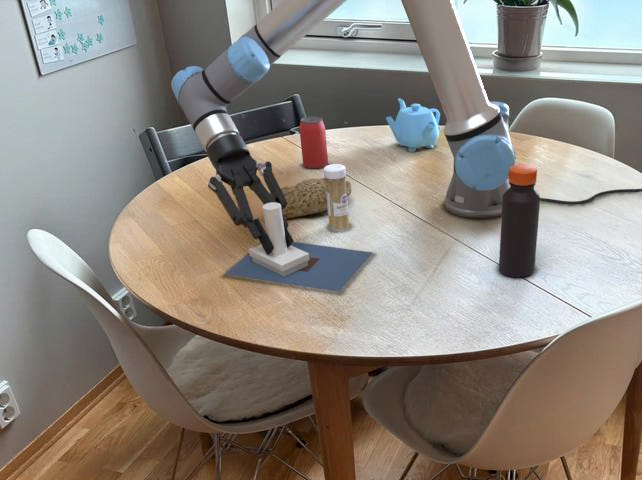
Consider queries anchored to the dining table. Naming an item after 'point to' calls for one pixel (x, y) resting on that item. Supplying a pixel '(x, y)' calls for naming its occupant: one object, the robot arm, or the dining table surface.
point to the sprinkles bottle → (336, 196)
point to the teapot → (415, 126)
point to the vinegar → (519, 223)
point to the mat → (310, 268)
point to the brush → (278, 245)
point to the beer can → (313, 142)
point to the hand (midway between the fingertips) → (280, 247)
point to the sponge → (307, 197)
